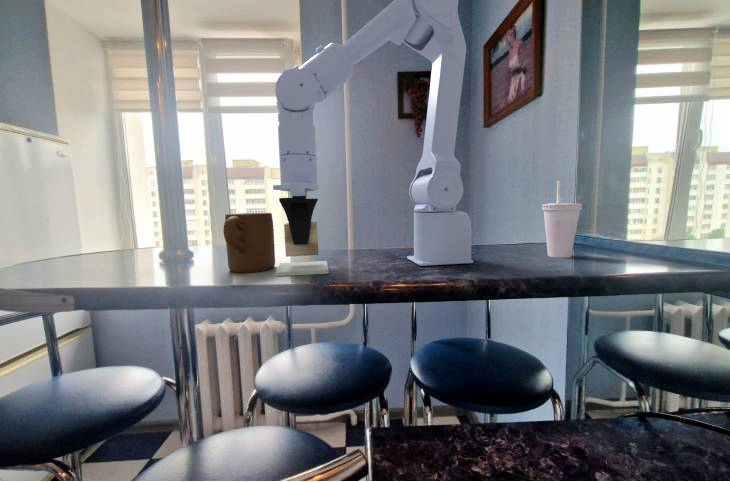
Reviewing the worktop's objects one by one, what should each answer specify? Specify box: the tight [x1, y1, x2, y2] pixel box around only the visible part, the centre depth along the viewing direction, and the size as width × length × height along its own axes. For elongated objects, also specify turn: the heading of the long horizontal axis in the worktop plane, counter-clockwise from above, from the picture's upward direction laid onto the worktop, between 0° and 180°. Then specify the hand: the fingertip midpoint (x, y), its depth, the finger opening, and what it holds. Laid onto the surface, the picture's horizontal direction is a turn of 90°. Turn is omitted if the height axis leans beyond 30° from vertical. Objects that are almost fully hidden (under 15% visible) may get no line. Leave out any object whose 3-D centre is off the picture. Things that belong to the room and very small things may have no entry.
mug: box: [223, 212, 276, 274], centre depth 52 cm, size 12×8×9 cm, turn 178°
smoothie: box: [541, 180, 583, 259], centre depth 59 cm, size 6×6×14 cm
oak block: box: [283, 221, 319, 258], centre depth 52 cm, size 5×5×5 cm
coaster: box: [274, 260, 330, 277], centre depth 53 cm, size 8×8×1 cm
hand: (301, 242), depth 52 cm, fingers closed on oak block, 5 cm apart
